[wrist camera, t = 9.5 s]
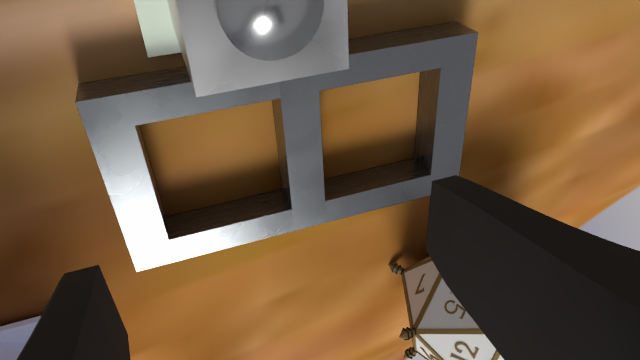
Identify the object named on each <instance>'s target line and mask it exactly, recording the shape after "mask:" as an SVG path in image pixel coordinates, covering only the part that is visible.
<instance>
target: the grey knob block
mask: <svg viewBox="0 0 640 360" xmlns="http://www.w3.org/2000/svg"><path fill="white" fill-rule="evenodd" d="M167 2H168V6H169V11H170V15H171V20H172V24H173V28H174V32H175V35H176V38H177V41H178V44H179V47H180V50H181V53H182V56H183V59H184V62H185V65H186V68H187V71H188V74H189V77H190V80H191V83H192V86H193V89H194V92H195V95H196V97H201V96H207V95H212V94H217V93H223V92H228V91H233V90H239V89H244V88H249V87H255V86H260V85H265V84H271V83H276V82H281V81H287V80H292V79H297V78H303V77H308V76H313V75H319V74H324V73H329V72H335V71H340V70H345V69H349V50H348V7H347V0H167Z"/></svg>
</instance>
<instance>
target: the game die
mask: <svg viewBox="0 0 640 360" xmlns="http://www.w3.org/2000/svg"><path fill="white" fill-rule="evenodd" d="M388 265H389V266H390V268H391V270H392V272H395V273H396V274H401V275H402V280H403V286H404V293H405V299H406V305H407V311H408V317H409V323H410V328H408V327H407V328H406V329H404V328H403V329H402V332H401V334H400V336H399V337H400V338H403V339H404V340H409V339H410V338H412V342H413V347H412V348H411V347H410V348H409V349H407V350H406V351H405V355H404V358H411V359H412V357H413V356H415V354H416V353H419V354H420V355H421V356H423V357H424V358H425V359H427V360H504V359H503V358H502V356H501V355H500V354H499V353H498V351H497V350H496V349H495V347H494V346H493V345H492V344H491V342H490V341H489V340H488V338H487V337H486V336H485V334H484V333H483V332H482V331H481V329H480V328H479V327H478V325H477V324H476V323H475V322H474V320H473V319H472V318H471V316H470V315H469V314H468V313H467V311H466V310H465V309H464V307H463V306H462V305H461V303H460V302H459V301H458V300H457V298H456V297H455V296H454V294H453V293H452V292H451V290H450V289H449V288H448V286H447V285H446V283H445V282H444V280H443V278H442V277H441V275H440V273H439V272H438V270H437V268H436V266H435V265H434V263H433V261H432V259H431V257H430V256H428V257H427V258H425V259H423V260H421V261H419V262H417V263H415V264H413V265H411V266H410V267H408V268H406V269H403V268H402V267H401V265H400V266H399V265H398V264H397V263H396V264H388Z"/></svg>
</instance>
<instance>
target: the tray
mask: <svg viewBox="0 0 640 360" xmlns="http://www.w3.org/2000/svg"><path fill="white" fill-rule="evenodd" d="M134 4H135V8H136V12H137V16H138V20H139V24H140V28H141V32H142V35H143V39H144V43H145V47H146V51H147V55H148V58H149V57H155V56H161V55H168V54H174V53H180V52H181V50H180V47H179V44H178V41H177V38H176V35H175V32H174V28H173V24H172V20H171V15H170V11H169V6H168V2H167V0H134Z"/></svg>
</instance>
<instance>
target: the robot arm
mask: <svg viewBox="0 0 640 360" xmlns="http://www.w3.org/2000/svg"><path fill="white" fill-rule="evenodd" d="M426 250H427V252H428V254H429V256H430V257H431V259H432V261H433V263H434V265H435V266H436V268H437V270H438V272H439V273H440V275H441V277H442V278H443V280H444V282H445V283H446V285H447V286H448V288H449V289H450V290H451V292H452V293H453V294H454V296H455V297H456V298H457V300H458V301H459V302H460V303H461V305H462V306H463V307H464V309H465V310H466V311H467V313H468V314H469V315H470V316H471V318H472V319H473V320H474V322H475V323H476V324H477V325H478V327H479V328H480V329H481V331H482V332H483V333H484V334H485V336H486V337H487V338H488V340H489V341H490V342H491V344H492V345H493V346H494V347H495V349H496V350H497V351H498V353H499V354H500V355H501V356H502V358H503V359H504V360H640V251H637V250H634V249H631V248H628V247H625V246H622V245H619V244H616V243H614V242H611V241H608V240H605V239H603V238H600V237H598V236H595V235H592V234H590V233H587V232H585V231H582V230H580V229H577V228H575V227H572V226H570V225H567V224H565V223H563V222H560V221H558V220H556V219H553V218H551V217H549V216H546V215H544V214H542V213H540V212H537V211H535V210H533V209H531V208H528V207H526V206H524V205H522V204H520V203H518V202H515V201H513V200H511V199H509V198H507V197H505V196H502V195H500V194H498V193H496V192H494V191H492V190H489V189H487V188H485V187H483V186H481V185H478V184H476V183H474V182H472V181H469V180H467V179H464V178H462V177H459V176H457V175H454V176H450V177H446V178H442V179H438V180H434V181H432V187H431V197H430V207H429V218H428V228H427V239H426ZM0 360H130V352H129V343H128V334H127V332H126V329H125V327H124V325H123V322H122V320H121V317H120V315H119V313H118V310H117V308H116V305H115V303H114V301H113V298H112V296H111V293H110V291H109V289H108V286H107V284H106V281H105V279H104V277H103V274H102V272H101V269H100V267H99V265H97V266H93V267H89V268H85V269H81V270H77V271H73V272H69V273H65V274H64V276H63V277H62V278H61V280H60V282H59V283H58V285H57V287H56V289H55V291H54V293H53V295H52V297H51V299H50V301H49V302H48V304H47V306H46V308H45V310H44V312H43V314H42V315H41V316H38V317H34V318H30V319H26V320H23V321H19V322H15V323H11V324H8V325H4V326H0Z"/></svg>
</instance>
